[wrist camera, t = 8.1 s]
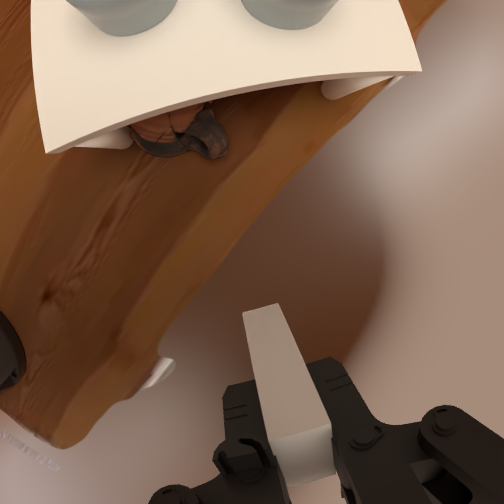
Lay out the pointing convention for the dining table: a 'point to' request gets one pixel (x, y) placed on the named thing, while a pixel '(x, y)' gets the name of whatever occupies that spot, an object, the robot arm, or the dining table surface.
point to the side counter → (199, 62)
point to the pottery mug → (182, 120)
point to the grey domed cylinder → (124, 14)
